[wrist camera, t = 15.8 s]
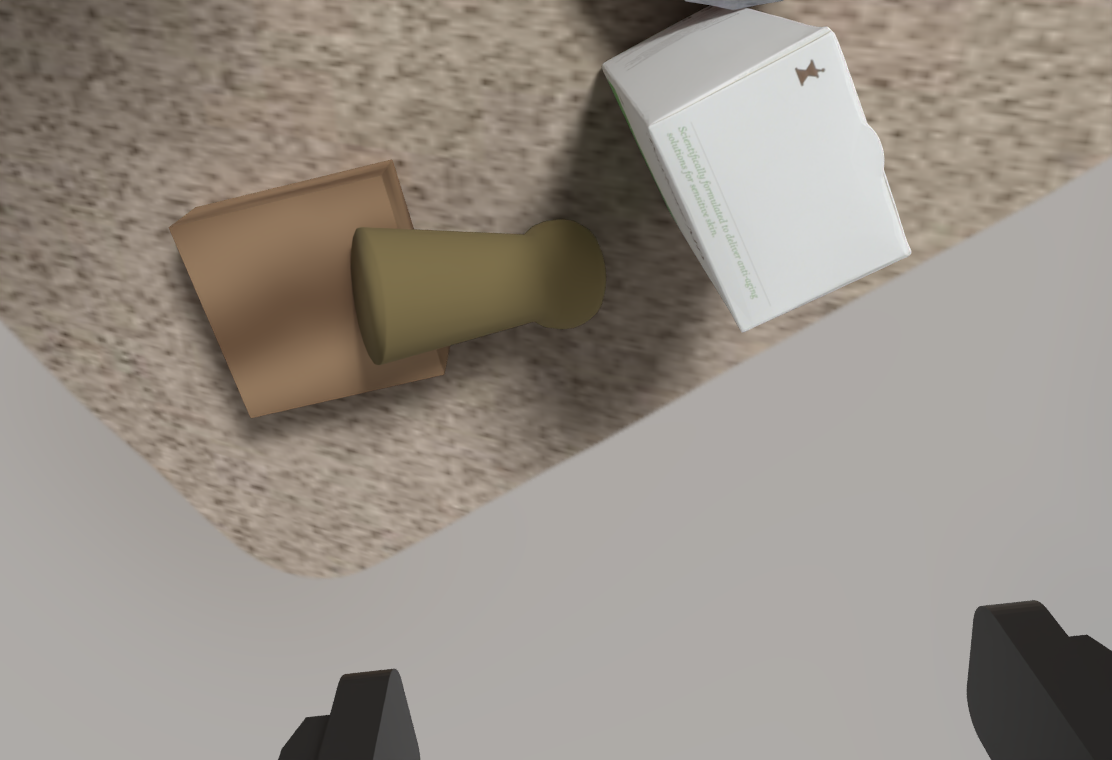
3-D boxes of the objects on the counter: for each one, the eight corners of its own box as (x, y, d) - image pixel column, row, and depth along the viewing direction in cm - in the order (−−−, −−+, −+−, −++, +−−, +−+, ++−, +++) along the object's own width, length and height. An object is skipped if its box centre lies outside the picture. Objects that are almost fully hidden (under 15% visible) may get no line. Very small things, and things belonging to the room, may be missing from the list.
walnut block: (198, 205, 44) (168, 227, 41) (393, 157, 44) (381, 175, 40) (271, 383, 48) (250, 418, 45) (450, 343, 48) (444, 374, 44)
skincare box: (598, 61, 41) (631, 116, 27) (731, -9, 40) (837, 10, 26) (671, 220, 45) (734, 342, 31) (796, 159, 44) (922, 257, 29)
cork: (394, 359, 36) (632, 324, 41) (370, 212, 36) (610, 193, 41) (365, 370, 42) (577, 339, 46) (344, 242, 42) (557, 223, 46)
